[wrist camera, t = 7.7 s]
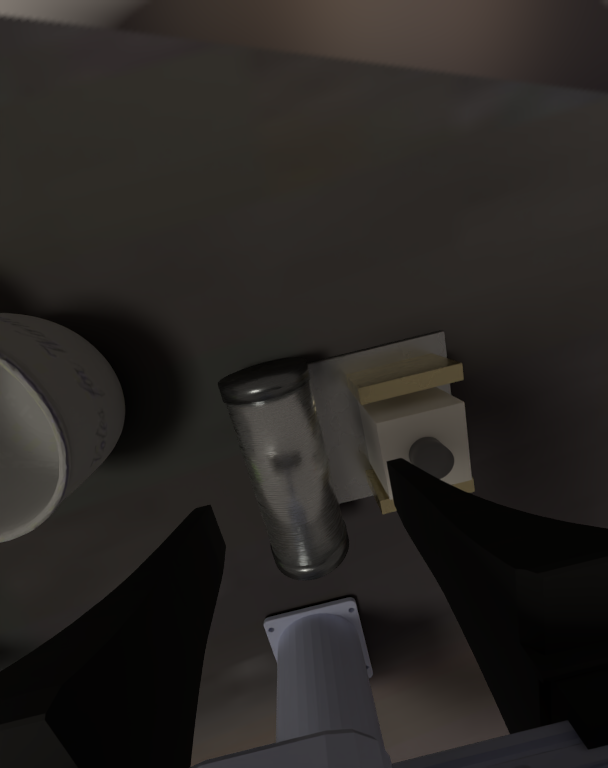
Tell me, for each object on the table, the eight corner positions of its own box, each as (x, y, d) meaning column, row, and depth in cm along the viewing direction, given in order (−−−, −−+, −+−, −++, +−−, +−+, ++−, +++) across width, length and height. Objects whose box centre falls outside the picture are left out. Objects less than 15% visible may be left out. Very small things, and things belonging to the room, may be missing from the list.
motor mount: (456, 478, 24) (508, 531, 18) (270, 524, 24) (266, 591, 18) (438, 319, 20) (495, 324, 15) (222, 371, 20) (199, 396, 15)
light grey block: (436, 446, 22) (484, 491, 17) (369, 462, 22) (397, 513, 17) (427, 382, 21) (477, 409, 16) (357, 399, 21) (383, 432, 15)
